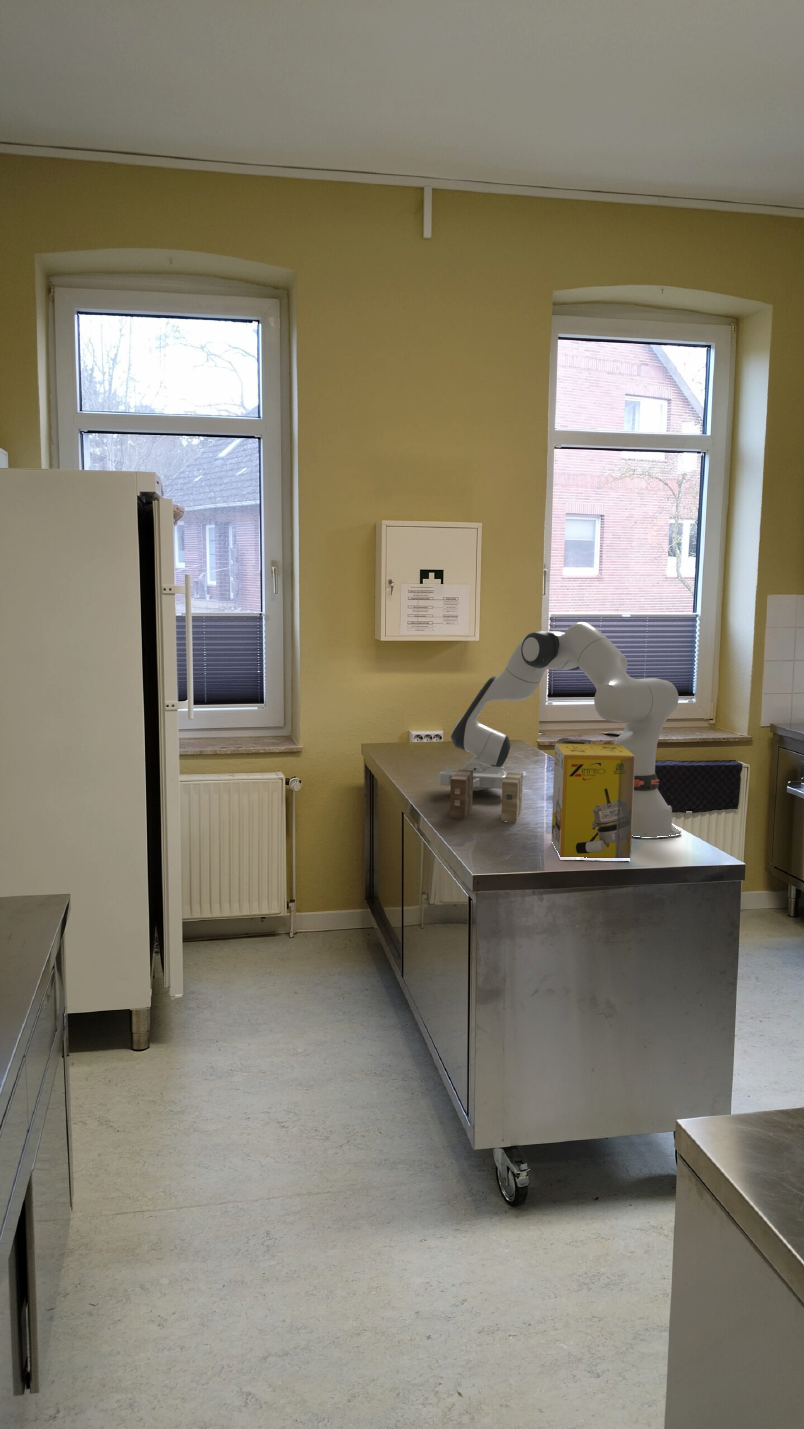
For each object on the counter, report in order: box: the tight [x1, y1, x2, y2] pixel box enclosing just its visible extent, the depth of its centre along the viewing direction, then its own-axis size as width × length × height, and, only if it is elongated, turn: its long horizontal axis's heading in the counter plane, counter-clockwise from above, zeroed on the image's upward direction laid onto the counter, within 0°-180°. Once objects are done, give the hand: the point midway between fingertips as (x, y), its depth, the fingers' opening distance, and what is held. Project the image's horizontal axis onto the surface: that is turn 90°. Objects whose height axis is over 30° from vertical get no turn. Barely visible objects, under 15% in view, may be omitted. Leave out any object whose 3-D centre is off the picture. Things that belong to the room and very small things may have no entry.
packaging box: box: [550, 743, 635, 858], centre depth 240 cm, size 16×16×25 cm
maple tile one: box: [500, 771, 524, 823], centre depth 276 cm, size 14×4×11 cm, turn 167°
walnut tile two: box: [449, 769, 474, 820], centre depth 279 cm, size 14×4×11 cm, turn 167°
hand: (469, 784), depth 292 cm, fingers closed
